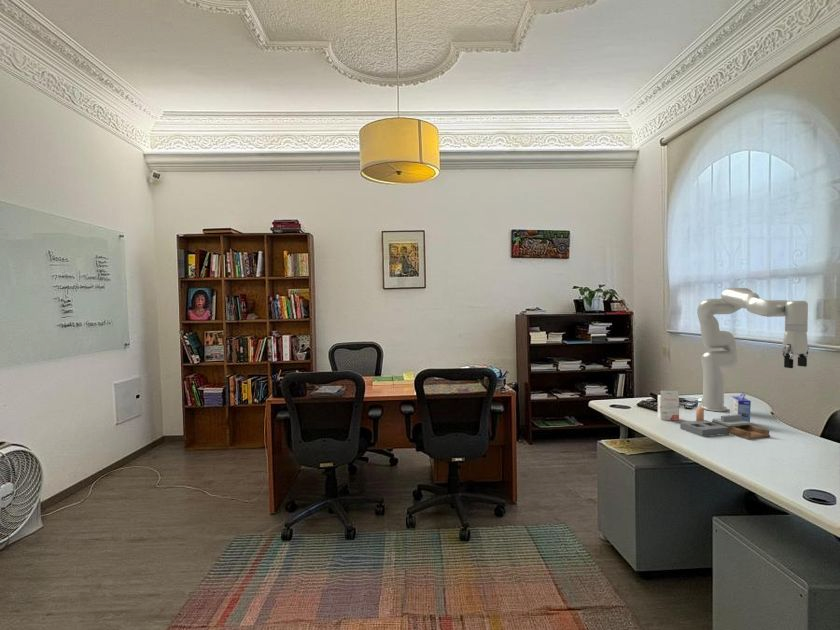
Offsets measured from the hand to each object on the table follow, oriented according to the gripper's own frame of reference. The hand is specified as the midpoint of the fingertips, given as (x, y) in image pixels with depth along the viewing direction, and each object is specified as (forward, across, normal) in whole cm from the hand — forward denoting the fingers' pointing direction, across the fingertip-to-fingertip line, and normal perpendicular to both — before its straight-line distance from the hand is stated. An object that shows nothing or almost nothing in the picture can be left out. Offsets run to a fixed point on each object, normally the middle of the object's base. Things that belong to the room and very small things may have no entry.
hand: (795, 367), depth 190 cm
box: (+30, +20, -10) cm, 37 cm away
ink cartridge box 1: (+30, +30, -38) cm, 57 cm away
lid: (+26, +20, -14) cm, 36 cm away
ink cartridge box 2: (+30, +6, -19) cm, 36 cm away
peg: (+30, +25, -26) cm, 46 cm away
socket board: (+30, +33, -18) cm, 48 cm away
